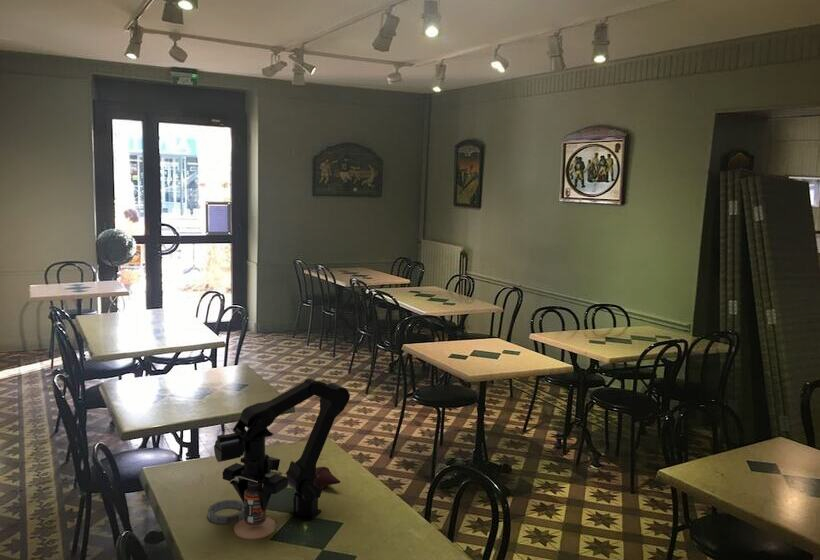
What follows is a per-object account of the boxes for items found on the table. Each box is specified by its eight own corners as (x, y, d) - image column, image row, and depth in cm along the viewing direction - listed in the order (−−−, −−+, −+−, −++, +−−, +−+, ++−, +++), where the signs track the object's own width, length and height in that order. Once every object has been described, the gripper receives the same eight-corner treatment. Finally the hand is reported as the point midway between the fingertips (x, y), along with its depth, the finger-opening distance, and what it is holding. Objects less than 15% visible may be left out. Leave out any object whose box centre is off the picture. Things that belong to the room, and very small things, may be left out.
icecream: (349, 469, 207) (314, 461, 216) (333, 471, 201) (298, 463, 210) (346, 492, 206) (311, 483, 215) (330, 494, 200) (295, 485, 209)
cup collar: (253, 511, 192) (253, 505, 191) (228, 527, 182) (228, 520, 182) (226, 503, 196) (226, 496, 196) (200, 518, 187) (200, 511, 187)
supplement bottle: (253, 528, 178) (253, 489, 176) (239, 521, 181) (238, 482, 180) (270, 520, 182) (270, 481, 181) (256, 513, 186) (256, 475, 184)
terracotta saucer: (283, 525, 184) (283, 522, 184) (256, 543, 175) (256, 540, 175) (253, 515, 190) (253, 512, 189) (225, 532, 180) (225, 529, 180)
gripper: (300, 450, 182) (300, 503, 184) (248, 437, 191) (249, 488, 193) (274, 464, 172) (274, 520, 174) (220, 450, 181) (221, 503, 183)
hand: (255, 507), depth 181 cm, fingers closed on supplement bottle, 6 cm apart
